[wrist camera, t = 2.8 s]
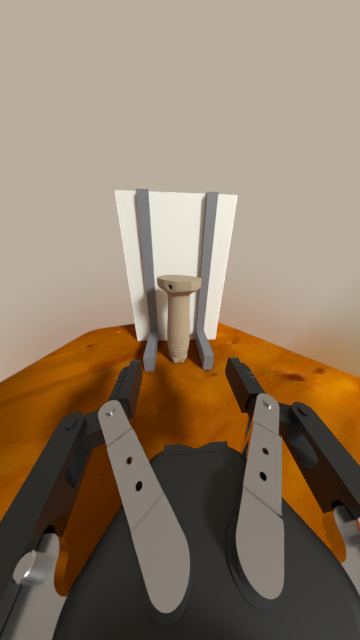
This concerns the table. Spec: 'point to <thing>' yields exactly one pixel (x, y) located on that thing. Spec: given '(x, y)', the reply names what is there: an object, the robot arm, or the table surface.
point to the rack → (175, 260)
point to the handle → (178, 312)
